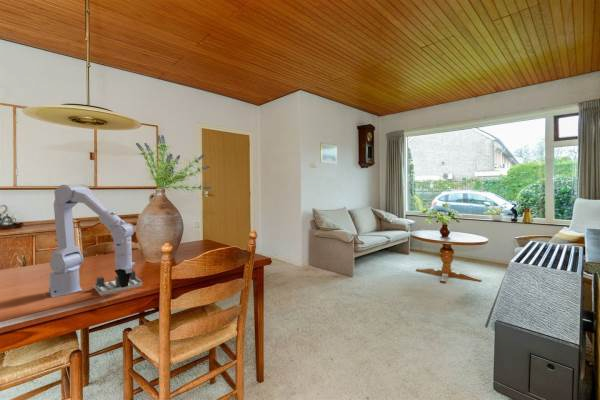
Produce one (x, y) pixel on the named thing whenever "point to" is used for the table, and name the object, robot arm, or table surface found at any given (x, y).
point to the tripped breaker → (117, 281)
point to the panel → (111, 286)
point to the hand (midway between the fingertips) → (124, 286)
